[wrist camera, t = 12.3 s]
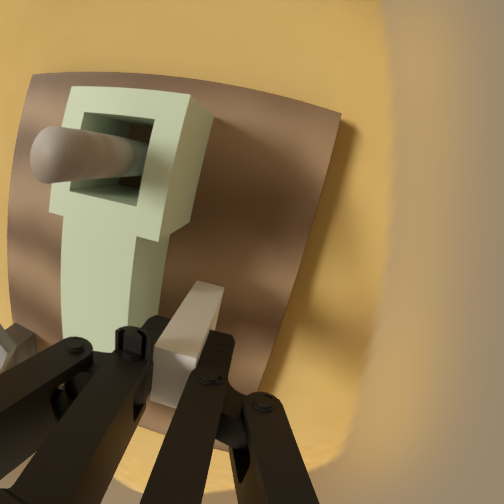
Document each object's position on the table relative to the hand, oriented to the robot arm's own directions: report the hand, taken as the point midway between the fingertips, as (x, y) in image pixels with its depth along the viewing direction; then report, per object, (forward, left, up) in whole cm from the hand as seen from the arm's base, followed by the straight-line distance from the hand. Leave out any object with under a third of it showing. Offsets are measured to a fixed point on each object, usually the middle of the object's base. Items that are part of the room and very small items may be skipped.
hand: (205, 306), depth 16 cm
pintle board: (+1, -6, -3) cm, 7 cm away
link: (0, -5, -2) cm, 5 cm away
